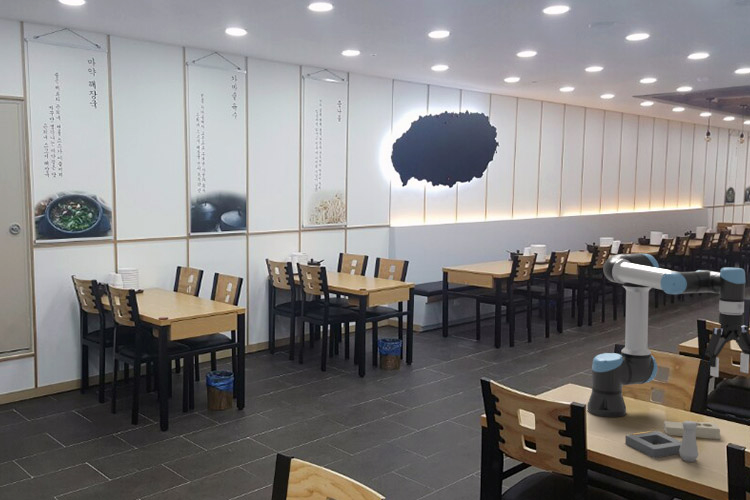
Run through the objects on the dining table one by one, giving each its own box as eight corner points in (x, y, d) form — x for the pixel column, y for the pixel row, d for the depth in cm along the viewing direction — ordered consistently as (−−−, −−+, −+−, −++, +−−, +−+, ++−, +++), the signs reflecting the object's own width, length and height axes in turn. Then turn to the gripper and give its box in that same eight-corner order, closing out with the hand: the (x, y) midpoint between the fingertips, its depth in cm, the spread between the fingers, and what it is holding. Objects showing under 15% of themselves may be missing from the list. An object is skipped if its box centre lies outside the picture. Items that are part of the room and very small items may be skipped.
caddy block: (625, 443, 238) (625, 434, 238) (656, 438, 242) (657, 430, 242) (653, 457, 225) (653, 448, 224) (686, 452, 229) (686, 443, 229)
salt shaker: (675, 456, 226) (676, 419, 225) (691, 455, 226) (692, 418, 225) (685, 463, 220) (686, 425, 219) (701, 462, 220) (702, 424, 219)
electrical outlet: (664, 418, 253) (716, 422, 248) (663, 429, 254) (715, 433, 249) (666, 424, 246) (720, 429, 241) (666, 435, 247) (719, 440, 242)
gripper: (712, 317, 219) (710, 380, 221) (768, 312, 227) (765, 373, 229) (694, 313, 226) (692, 375, 228) (749, 309, 235) (747, 368, 236)
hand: (729, 374), depth 228 cm, fingers open, 13 cm apart
